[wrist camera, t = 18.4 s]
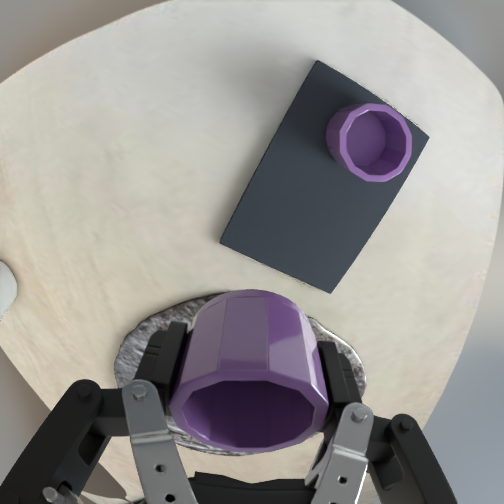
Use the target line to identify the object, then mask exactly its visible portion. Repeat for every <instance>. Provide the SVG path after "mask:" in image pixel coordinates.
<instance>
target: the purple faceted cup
mask: <svg viewBox="0 0 504 504" xmlns="http://www.w3.org/2000/svg"><path fill="white" fill-rule="evenodd" d="M168 407H169V410H170V412H171V414H172V416H173V419H174V421H175V423H176V425H177V427H178V428H179V429H181V430H182V431H184V432H185V433H187V434H188V435H190V436H191V437H193V438H194V439H196V440H197V441H199V442H200V443H202V444H205V445H209V446H212V447H216V448H220V449H224V450H228V451H232V452H272V451H276V450H279V449H283V448H286V447H290V446H293V445H296V444H300V443H301V442H303V441H305V440H306V439H308V438H309V437H310V436H311V435H313V434H314V433H315V432H317V431H318V430H319V429H321V428H322V427H323V426H324V423H325V419H326V415H327V411H328V407H329V402H328V397H327V391H326V386H325V381H324V376H323V372H322V367H321V362H320V357H319V352H318V348H317V343H316V339H315V334H314V332H313V331H312V329H311V325H310V322H309V320H308V318H307V316H306V315H305V313H304V312H303V311H302V310H301V309H300V308H299V307H298V306H297V305H296V304H295V303H293V302H292V301H290V300H289V299H287V298H285V297H283V296H281V295H278V294H276V293H272V292H268V291H264V290H254V289H246V290H236V291H231V292H228V293H225V294H222V295H219V296H217V297H215V298H213V299H212V300H210V301H209V302H207V303H206V304H205V305H204V306H202V307H201V309H200V310H199V311H198V312H197V314H196V315H195V317H194V319H193V321H192V324H191V327H190V330H189V332H188V334H187V336H186V340H185V344H184V347H183V351H182V355H181V358H180V362H179V366H178V369H177V373H176V377H175V381H174V384H173V388H172V392H171V396H170V399H169V402H168Z"/></svg>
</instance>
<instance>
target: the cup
mask: <svg viewBox="0 0 504 504" xmlns="http://www.w3.org/2000/svg"><path fill="white" fill-rule="evenodd" d="M16 296H17V283H16V280H15V278H14V275H13V274H12V272H11V270H10V269H9V268H8V267H7V265H5V264H4V263H3V262H2V261H0V321H1V319H2V318H3V316H4V315H5V313H6V312H7V311H8V309H9V308H10V307H11V305H12V304H13V302H14V301H15V299H16Z"/></svg>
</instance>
